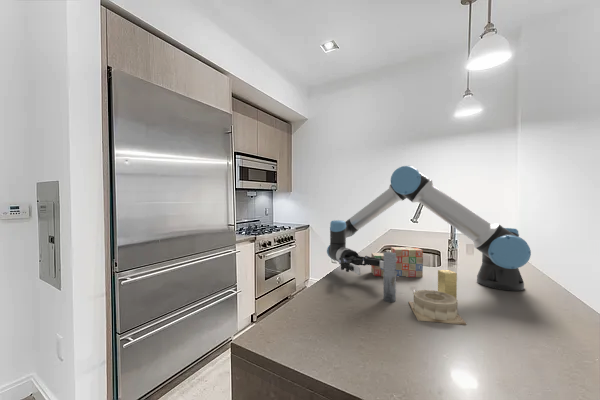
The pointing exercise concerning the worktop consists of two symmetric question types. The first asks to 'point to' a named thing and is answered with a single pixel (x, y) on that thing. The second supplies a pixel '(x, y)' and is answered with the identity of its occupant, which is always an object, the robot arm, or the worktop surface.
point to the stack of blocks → (403, 262)
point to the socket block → (435, 307)
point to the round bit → (389, 277)
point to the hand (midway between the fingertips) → (375, 269)
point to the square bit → (447, 282)
